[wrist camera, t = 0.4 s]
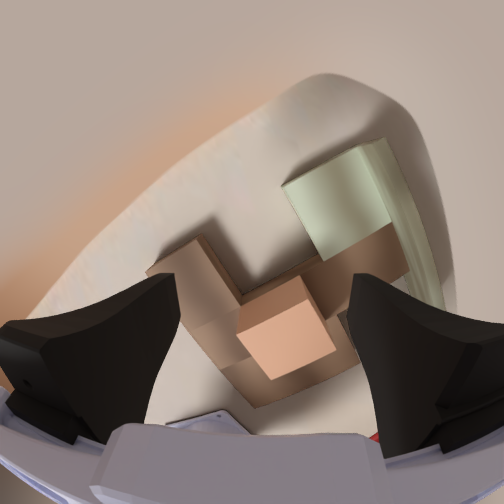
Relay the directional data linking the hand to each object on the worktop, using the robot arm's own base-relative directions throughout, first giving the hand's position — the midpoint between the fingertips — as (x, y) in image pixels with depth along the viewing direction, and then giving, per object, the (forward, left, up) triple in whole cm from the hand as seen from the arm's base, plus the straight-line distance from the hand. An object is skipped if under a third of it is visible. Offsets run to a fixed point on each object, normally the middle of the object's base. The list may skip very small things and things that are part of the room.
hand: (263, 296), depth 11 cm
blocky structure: (+1, -6, -11) cm, 12 cm away
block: (-1, -6, -9) cm, 11 cm away
